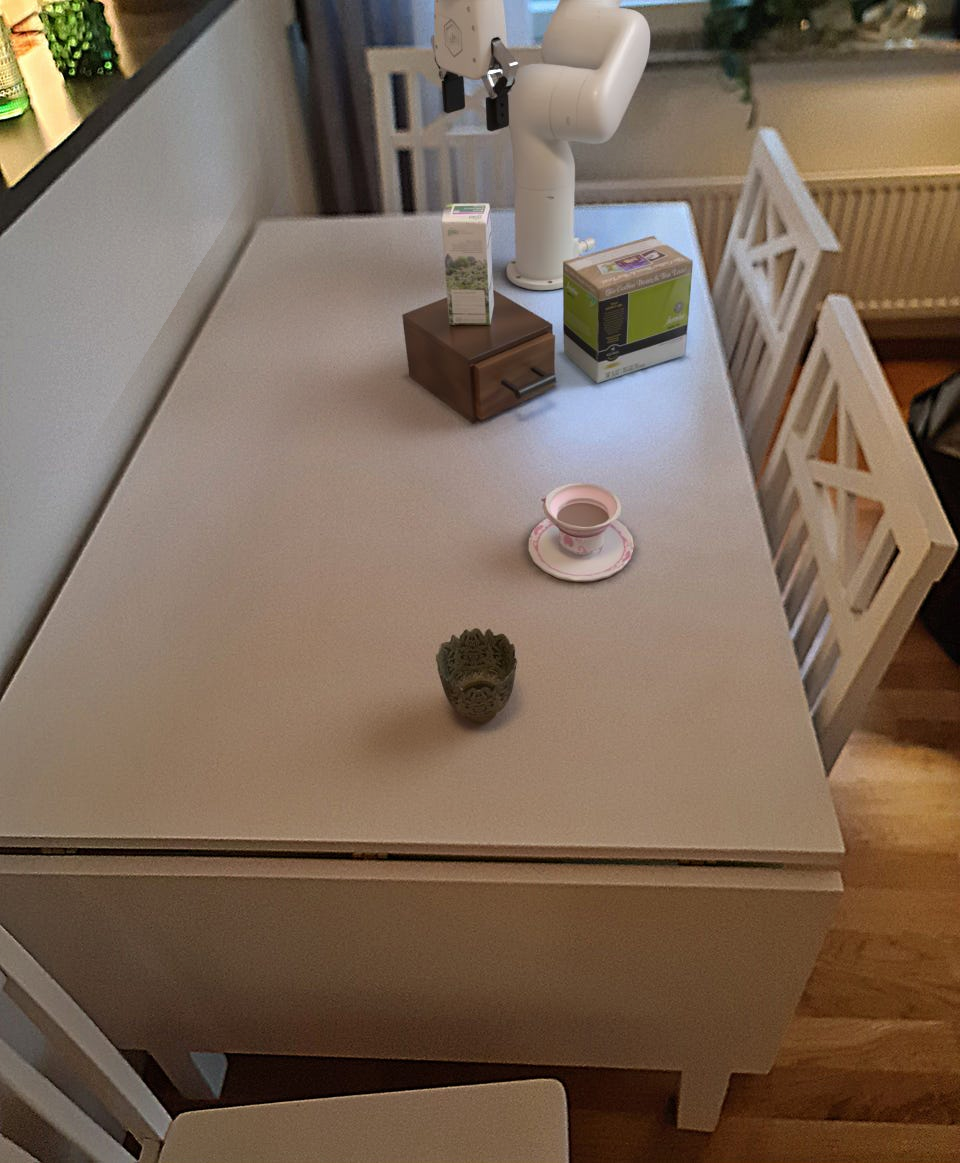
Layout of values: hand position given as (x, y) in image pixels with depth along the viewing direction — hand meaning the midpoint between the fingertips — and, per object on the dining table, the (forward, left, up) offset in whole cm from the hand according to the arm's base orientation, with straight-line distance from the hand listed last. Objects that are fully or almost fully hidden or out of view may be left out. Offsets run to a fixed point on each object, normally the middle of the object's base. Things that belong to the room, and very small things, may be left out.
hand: (475, 119), depth 125 cm
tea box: (-10, +20, -31) cm, 38 cm away
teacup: (+22, +48, -31) cm, 61 cm away
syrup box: (+10, +11, -21) cm, 25 cm away
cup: (+45, +60, -31) cm, 81 cm away
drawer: (+10, +16, -29) cm, 35 cm away
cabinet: (+10, +12, -30) cm, 34 cm away
